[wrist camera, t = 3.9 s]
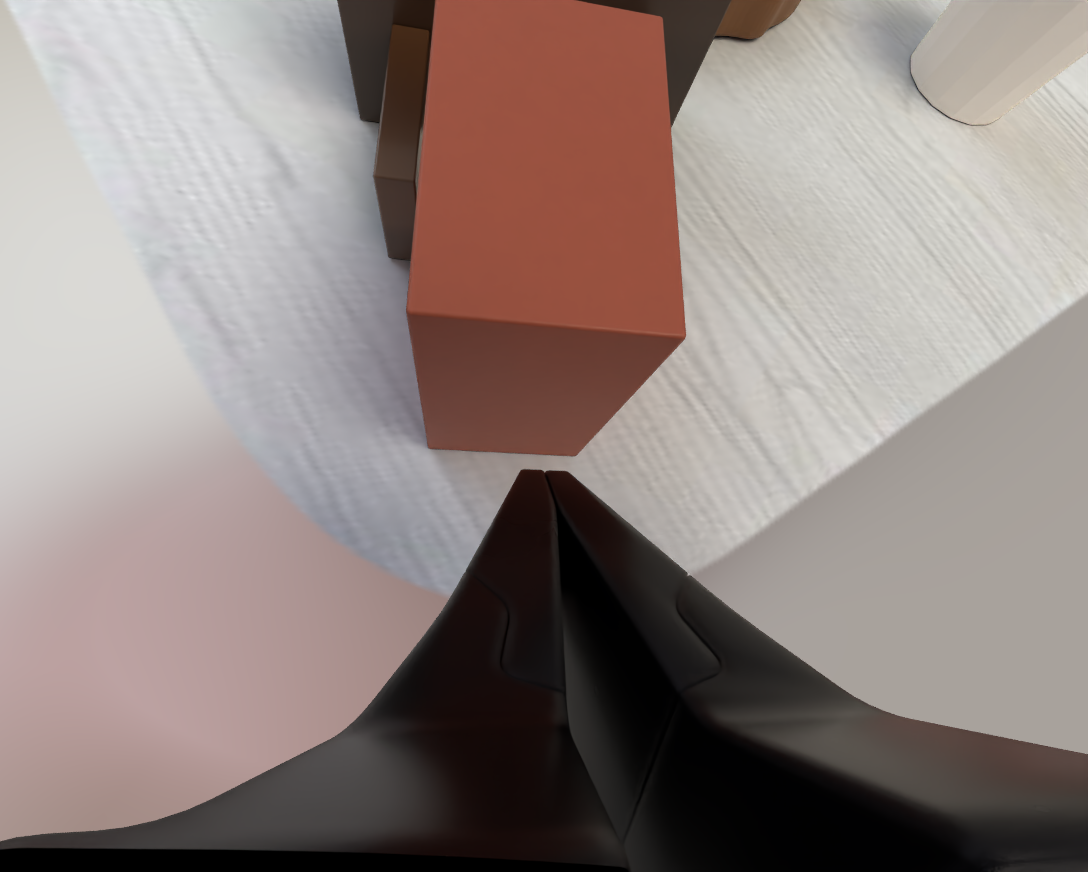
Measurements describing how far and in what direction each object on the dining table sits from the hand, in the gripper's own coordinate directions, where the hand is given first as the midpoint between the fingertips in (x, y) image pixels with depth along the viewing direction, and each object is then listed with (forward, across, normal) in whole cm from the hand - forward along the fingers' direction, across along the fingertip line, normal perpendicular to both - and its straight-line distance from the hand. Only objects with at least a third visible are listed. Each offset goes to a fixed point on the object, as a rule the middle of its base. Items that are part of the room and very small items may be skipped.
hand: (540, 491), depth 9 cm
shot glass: (+22, -23, -11) cm, 34 cm away
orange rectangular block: (+10, 0, +1) cm, 10 cm away
